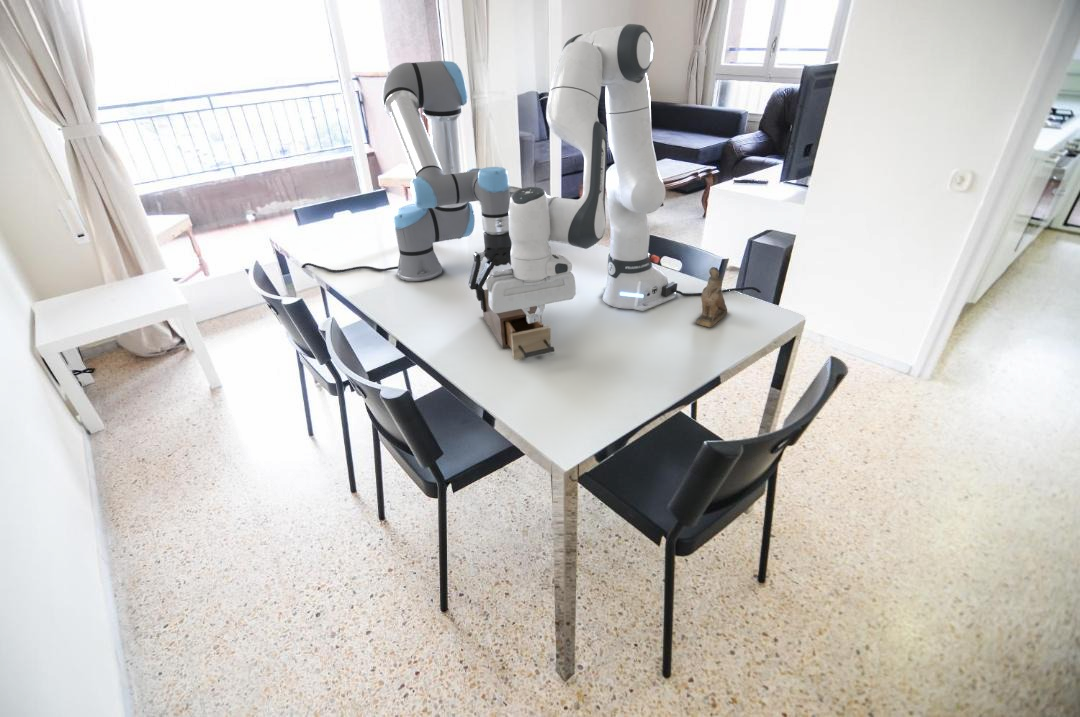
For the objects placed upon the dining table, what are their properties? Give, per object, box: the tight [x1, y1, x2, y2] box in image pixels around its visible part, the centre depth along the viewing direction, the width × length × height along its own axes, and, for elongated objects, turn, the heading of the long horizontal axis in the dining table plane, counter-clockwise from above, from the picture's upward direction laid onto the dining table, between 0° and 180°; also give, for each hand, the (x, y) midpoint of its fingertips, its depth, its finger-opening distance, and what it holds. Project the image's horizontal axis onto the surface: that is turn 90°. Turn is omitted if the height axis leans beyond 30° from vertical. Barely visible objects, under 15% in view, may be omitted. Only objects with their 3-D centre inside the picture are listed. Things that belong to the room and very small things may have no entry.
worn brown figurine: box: [695, 266, 728, 328], centre depth 135 cm, size 12×6×18 cm, turn 136°
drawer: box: [504, 317, 555, 361], centre depth 127 cm, size 23×10×7 cm, turn 20°
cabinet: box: [482, 288, 542, 349], centre depth 136 cm, size 19×11×9 cm, turn 20°
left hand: (503, 306), depth 142 cm, fingers closed on cabinet, 11 cm apart
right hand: (533, 321), depth 117 cm, fingers closed
